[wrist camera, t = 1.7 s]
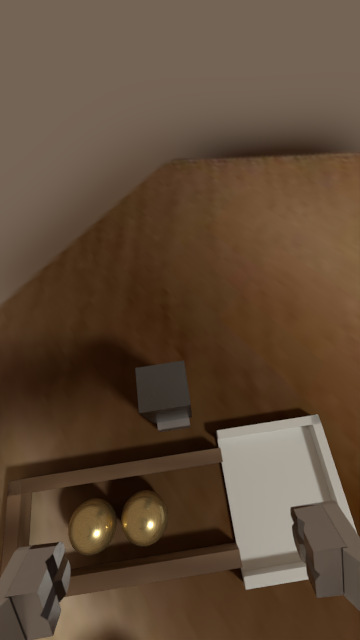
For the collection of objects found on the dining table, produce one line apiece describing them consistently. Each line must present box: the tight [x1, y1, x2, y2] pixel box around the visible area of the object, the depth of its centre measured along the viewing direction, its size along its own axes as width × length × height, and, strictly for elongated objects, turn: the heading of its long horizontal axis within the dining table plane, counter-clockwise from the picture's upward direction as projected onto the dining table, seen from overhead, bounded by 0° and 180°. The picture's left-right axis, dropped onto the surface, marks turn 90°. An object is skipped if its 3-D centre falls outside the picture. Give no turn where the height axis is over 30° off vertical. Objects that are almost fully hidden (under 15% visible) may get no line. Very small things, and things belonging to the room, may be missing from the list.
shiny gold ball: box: [121, 490, 168, 546], centre depth 25 cm, size 4×4×4 cm
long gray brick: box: [135, 361, 192, 432], centre depth 26 cm, size 4×4×11 cm
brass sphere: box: [68, 498, 117, 555], centre depth 25 cm, size 4×4×4 cm
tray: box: [216, 415, 357, 590], centre depth 26 cm, size 12×10×2 cm
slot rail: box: [0, 448, 243, 597], centre depth 26 cm, size 9×20×2 cm, turn 98°
